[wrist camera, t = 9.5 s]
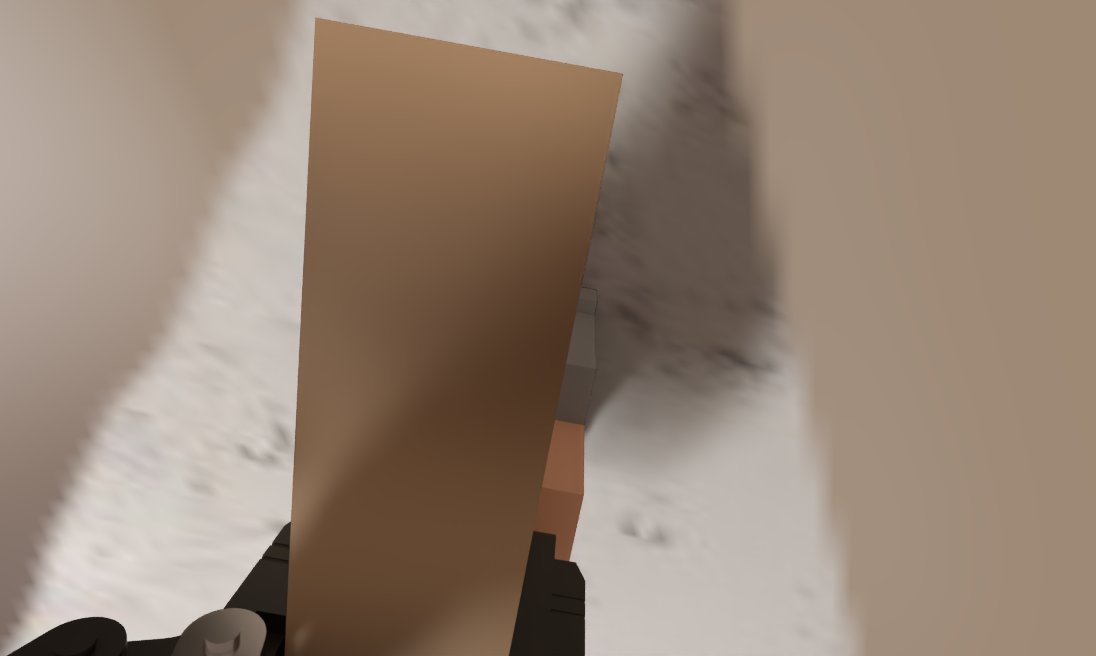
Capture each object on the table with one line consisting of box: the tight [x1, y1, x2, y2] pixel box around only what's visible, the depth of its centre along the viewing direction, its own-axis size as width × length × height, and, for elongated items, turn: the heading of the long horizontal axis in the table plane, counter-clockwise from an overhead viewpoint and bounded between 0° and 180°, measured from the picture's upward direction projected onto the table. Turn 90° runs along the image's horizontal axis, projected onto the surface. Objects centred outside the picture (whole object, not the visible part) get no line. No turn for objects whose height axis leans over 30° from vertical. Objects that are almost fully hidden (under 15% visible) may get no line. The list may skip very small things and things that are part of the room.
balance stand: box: [533, 287, 597, 561], centre depth 20 cm, size 6×7×10 cm
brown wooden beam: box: [285, 18, 623, 656], centre depth 13 cm, size 20×4×5 cm, turn 170°
